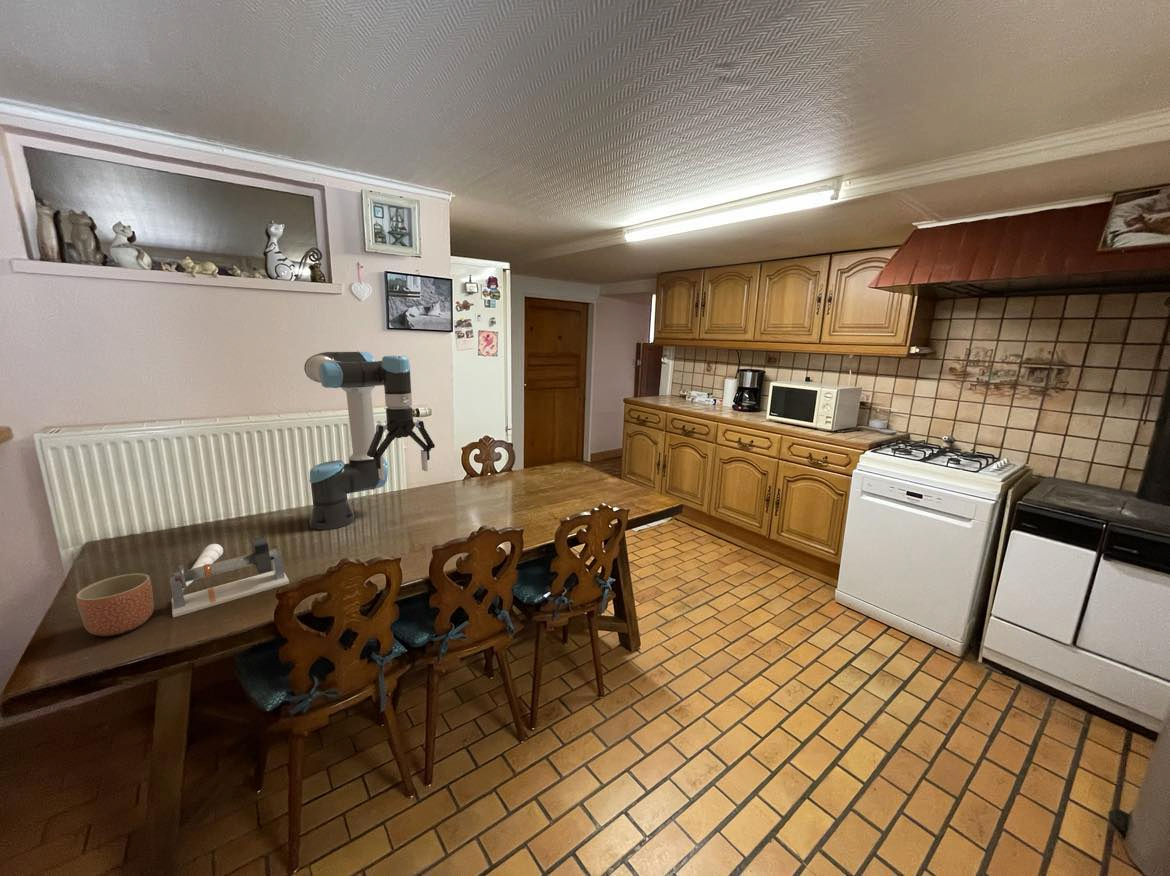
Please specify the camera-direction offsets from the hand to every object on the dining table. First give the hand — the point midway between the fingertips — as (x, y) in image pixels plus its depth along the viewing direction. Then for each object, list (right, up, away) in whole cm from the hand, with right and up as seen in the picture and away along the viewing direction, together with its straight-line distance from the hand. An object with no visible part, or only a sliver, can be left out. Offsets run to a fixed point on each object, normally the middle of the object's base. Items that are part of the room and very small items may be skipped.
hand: (404, 474), depth 143 cm
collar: (-35, -26, -13) cm, 45 cm away
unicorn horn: (-59, -29, -5) cm, 66 cm away
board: (-41, -31, -17) cm, 54 cm away
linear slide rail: (-41, -31, -17) cm, 54 cm away
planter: (-55, -35, -32) cm, 73 cm away
